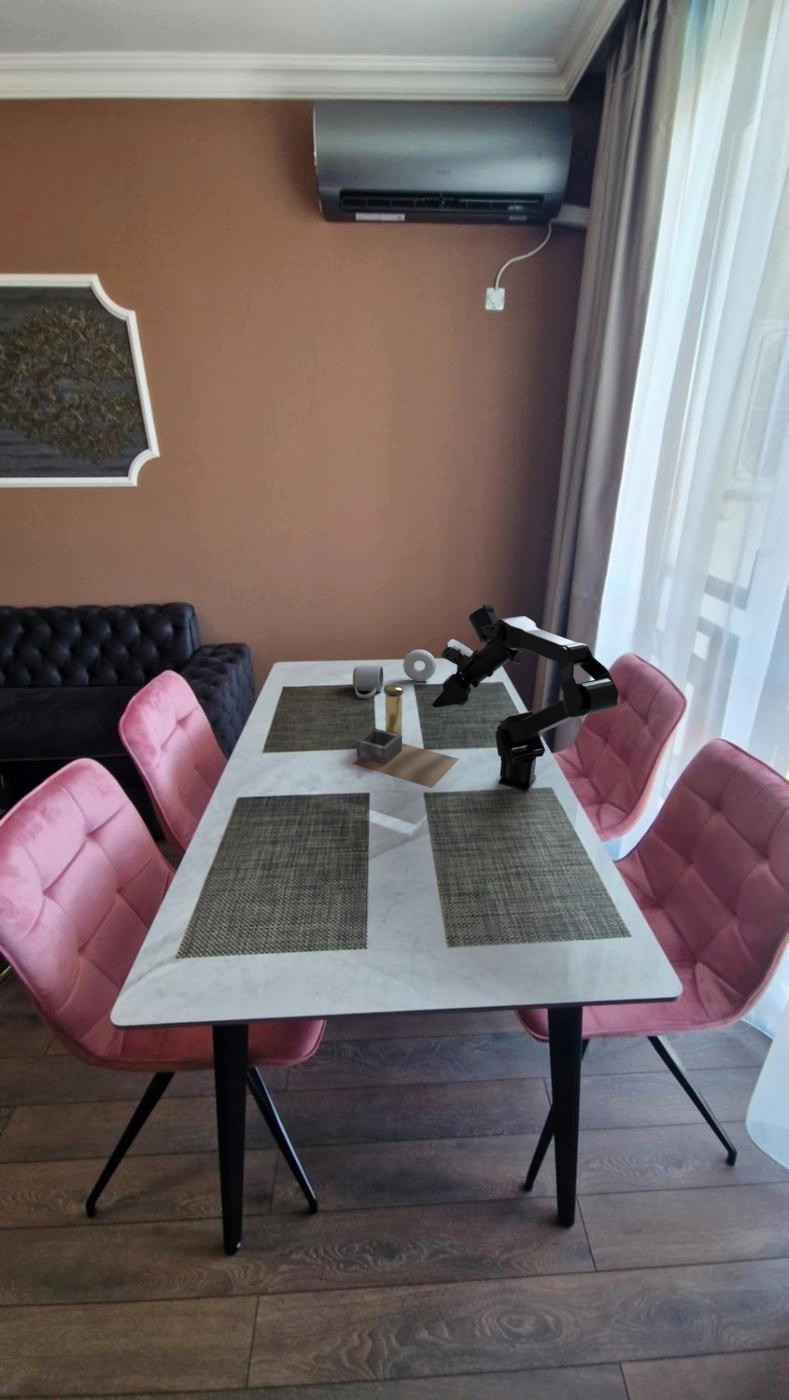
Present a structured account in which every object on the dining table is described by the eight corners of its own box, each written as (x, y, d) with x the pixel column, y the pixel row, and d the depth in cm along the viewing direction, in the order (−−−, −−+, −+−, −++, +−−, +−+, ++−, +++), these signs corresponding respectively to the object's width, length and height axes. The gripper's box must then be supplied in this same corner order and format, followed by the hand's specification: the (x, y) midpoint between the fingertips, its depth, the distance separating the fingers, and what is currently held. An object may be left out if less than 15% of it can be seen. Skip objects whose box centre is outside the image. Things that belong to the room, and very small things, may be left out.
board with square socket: (458, 764, 139) (460, 743, 137) (431, 793, 128) (432, 771, 125) (380, 742, 148) (380, 722, 146) (349, 768, 137) (348, 747, 135)
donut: (435, 679, 186) (437, 648, 181) (435, 683, 182) (436, 652, 178) (403, 678, 186) (403, 647, 182) (402, 682, 183) (402, 651, 179)
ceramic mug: (357, 684, 182) (356, 660, 179) (384, 685, 181) (383, 661, 178) (350, 699, 172) (349, 674, 169) (378, 700, 171) (378, 675, 168)
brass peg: (406, 738, 150) (406, 686, 145) (397, 745, 147) (397, 692, 141) (390, 733, 153) (390, 682, 147) (380, 741, 149) (380, 689, 143)
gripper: (474, 619, 139) (427, 658, 147) (454, 644, 123) (402, 686, 131) (506, 655, 140) (457, 692, 148) (490, 685, 124) (436, 725, 132)
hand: (438, 698), depth 140 cm, fingers open, 9 cm apart
